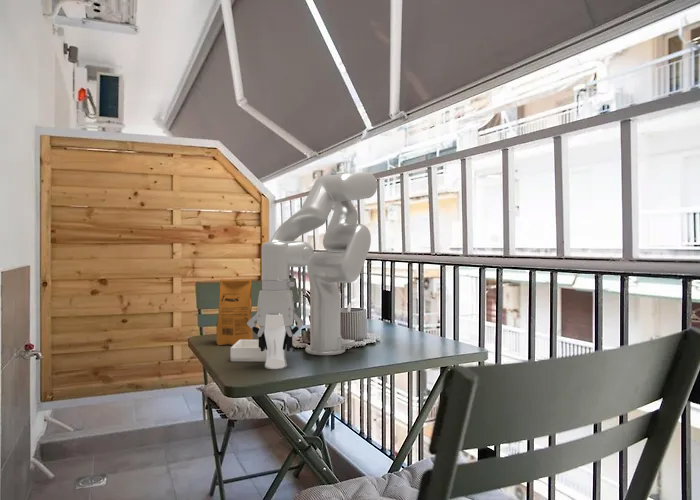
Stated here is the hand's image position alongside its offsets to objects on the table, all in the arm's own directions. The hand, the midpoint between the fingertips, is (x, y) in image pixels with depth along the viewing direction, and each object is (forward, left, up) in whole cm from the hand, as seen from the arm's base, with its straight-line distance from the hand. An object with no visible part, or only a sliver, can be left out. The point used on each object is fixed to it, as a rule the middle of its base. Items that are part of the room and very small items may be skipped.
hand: (275, 349), depth 137 cm
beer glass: (0, 0, -5) cm, 5 cm away
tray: (+8, -12, -5) cm, 15 cm away
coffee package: (+19, -33, -5) cm, 38 cm away
